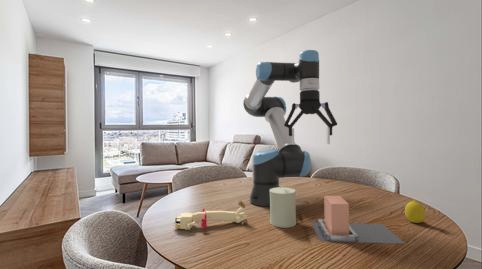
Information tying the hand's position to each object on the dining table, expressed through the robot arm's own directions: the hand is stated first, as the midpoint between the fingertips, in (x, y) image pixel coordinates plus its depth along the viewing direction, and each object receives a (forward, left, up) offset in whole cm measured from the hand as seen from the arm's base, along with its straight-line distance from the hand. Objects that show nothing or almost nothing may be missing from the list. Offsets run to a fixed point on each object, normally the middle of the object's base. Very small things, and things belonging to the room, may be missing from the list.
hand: (310, 144), depth 98 cm
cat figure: (-37, -17, -27) cm, 49 cm away
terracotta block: (+4, -22, -26) cm, 34 cm away
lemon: (+32, -12, -27) cm, 43 cm away
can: (-12, -13, -27) cm, 32 cm away
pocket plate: (+9, -22, -27) cm, 35 cm away
